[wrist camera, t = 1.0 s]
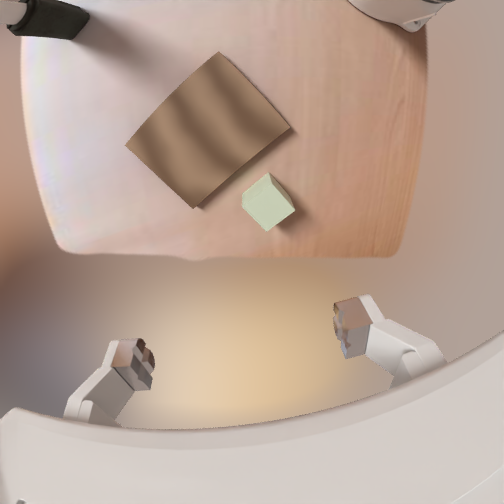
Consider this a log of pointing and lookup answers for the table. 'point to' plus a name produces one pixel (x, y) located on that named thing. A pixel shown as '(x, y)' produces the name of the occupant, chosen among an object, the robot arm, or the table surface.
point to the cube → (267, 202)
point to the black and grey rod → (43, 18)
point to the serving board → (206, 130)
